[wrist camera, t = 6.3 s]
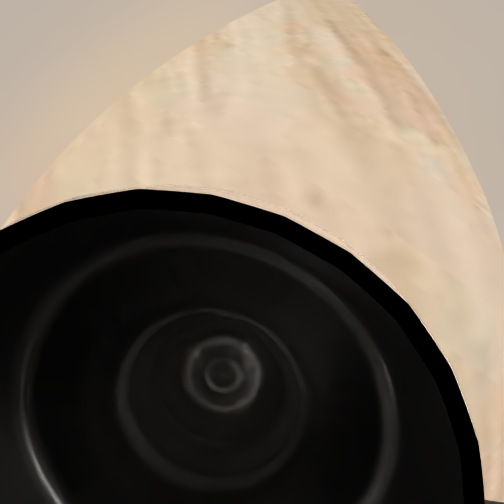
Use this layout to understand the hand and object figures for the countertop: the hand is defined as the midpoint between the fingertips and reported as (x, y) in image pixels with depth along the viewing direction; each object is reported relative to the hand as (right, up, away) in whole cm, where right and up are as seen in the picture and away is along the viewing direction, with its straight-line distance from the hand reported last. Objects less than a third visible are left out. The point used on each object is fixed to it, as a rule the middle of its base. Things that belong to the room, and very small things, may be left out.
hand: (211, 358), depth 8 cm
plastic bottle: (-1, -4, +9) cm, 10 cm away
